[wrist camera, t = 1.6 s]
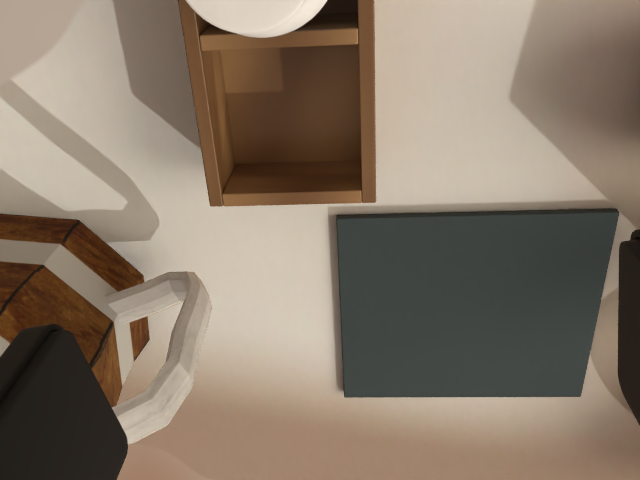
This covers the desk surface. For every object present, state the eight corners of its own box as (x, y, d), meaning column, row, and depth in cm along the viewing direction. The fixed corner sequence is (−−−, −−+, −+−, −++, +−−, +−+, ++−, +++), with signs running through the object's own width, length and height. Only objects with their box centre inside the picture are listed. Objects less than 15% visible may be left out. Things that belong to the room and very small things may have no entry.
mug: (21, 395, 45) (-118, 603, 31) (-96, 242, 38) (-328, 420, 25) (271, 334, 41) (231, 542, 28) (185, 152, 34) (82, 309, 21)
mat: (344, 392, 43) (344, 397, 42) (336, 214, 36) (336, 218, 36) (578, 391, 42) (580, 397, 41) (616, 208, 35) (619, 211, 34)
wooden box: (226, 171, 35) (209, 207, 31) (180, -165, 27) (150, -175, 23) (373, 167, 34) (376, 203, 30) (370, -177, 26) (372, -191, 22)
